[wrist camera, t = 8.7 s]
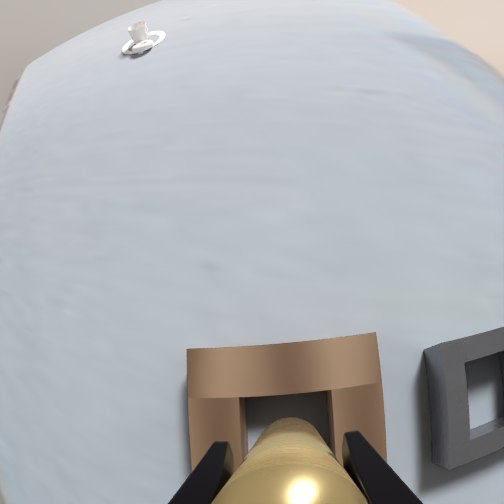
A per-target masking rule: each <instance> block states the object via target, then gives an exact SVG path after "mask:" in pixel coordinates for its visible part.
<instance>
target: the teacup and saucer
mask: <svg viewBox="0 0 504 504" xmlns="http://www.w3.org/2000/svg"><path fill="white" fill-rule="evenodd" d="M128 31H129V33H130V35H131V37H132V40H130V41H129V42H128V43H126V44H125V45H124V47H123V48H122V53H124V54H136V53H140V52H143V51H146V50H148V49H150V48H152V47H154V46H155V45H157V44H158V43H160V42H161V41H162V40H163V39H164V38H165V33H164V32H162V31H152V32H148V29H147V26H146V23H145V22H139V23H136V24H134V25H132V26H130V27H129V28H128ZM151 34H156V35H158V36H159V39H158V40H157V41H156V42H155V43H154V44H153V41H152V40H149V35H151ZM133 41H134V42H135V44H136V45H134V46H133V47H132V51H129V50H128V46H129V45H130V44H131V43H132V42H133Z"/></svg>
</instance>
